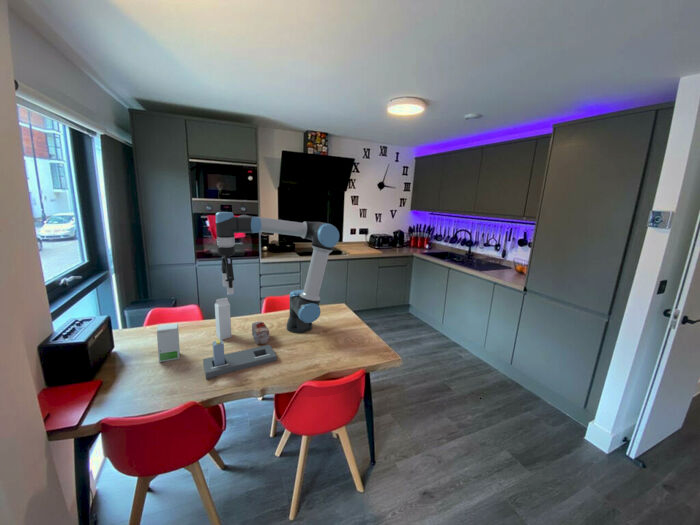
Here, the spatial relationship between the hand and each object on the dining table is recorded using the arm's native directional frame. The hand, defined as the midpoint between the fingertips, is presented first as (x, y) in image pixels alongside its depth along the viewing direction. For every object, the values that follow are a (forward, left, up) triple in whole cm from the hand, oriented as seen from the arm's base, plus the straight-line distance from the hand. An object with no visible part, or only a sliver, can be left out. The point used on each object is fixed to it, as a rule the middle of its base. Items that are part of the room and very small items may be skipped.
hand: (228, 290), depth 136 cm
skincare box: (+26, -6, -32) cm, 42 cm away
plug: (+7, +14, -31) cm, 35 cm away
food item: (-15, -5, -32) cm, 36 cm away
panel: (-2, +14, -32) cm, 35 cm away
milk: (+1, -17, -32) cm, 36 cm away
